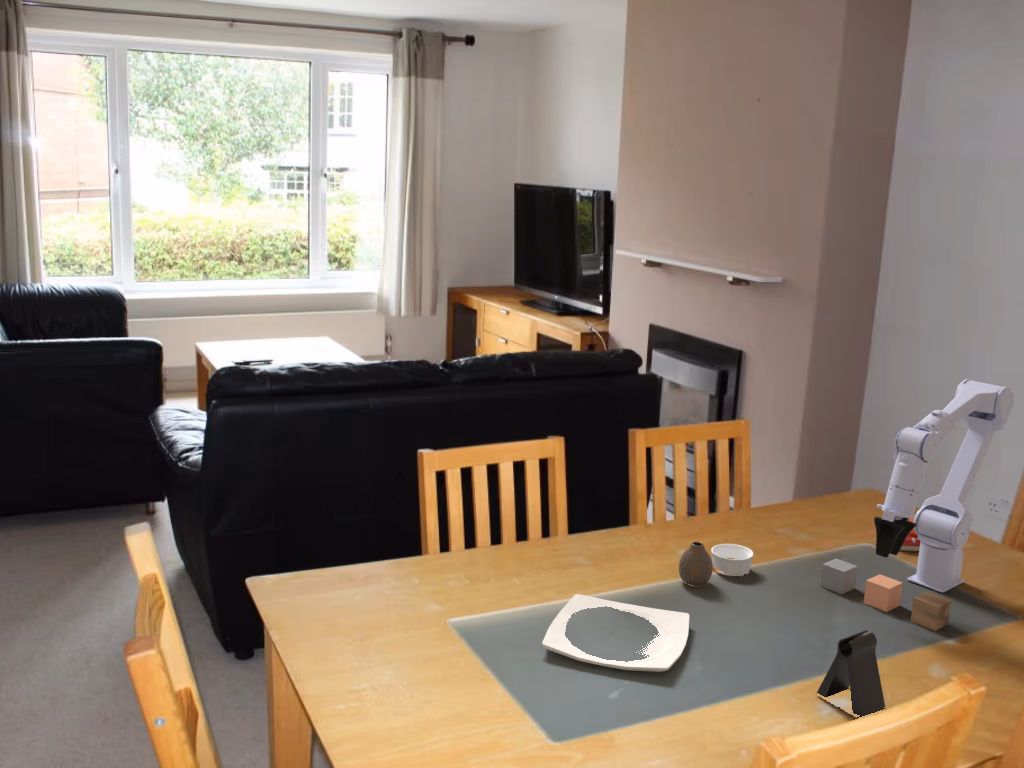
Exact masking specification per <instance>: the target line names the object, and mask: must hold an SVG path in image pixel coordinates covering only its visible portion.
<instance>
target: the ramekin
mask: <svg viewBox="0 0 1024 768" xmlns="http://www.w3.org/2000/svg"><path fill="white" fill-rule="evenodd" d="M710 551H711V559H712V564H713V565H714V567H715V568H717V569H719V570H720V571H723V572H724V573H726V574H731V575H744V574H747V575H748V574H749V573H750V571H751V566H752V560H753V557H754V552H753V550H752V549H750V548H749V547H746V546H744V545H740V544H737V543H720V544H716V545H714V546H712V547H711V548H710ZM727 557H728V558H734V559H728V558H727Z"/></svg>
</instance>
